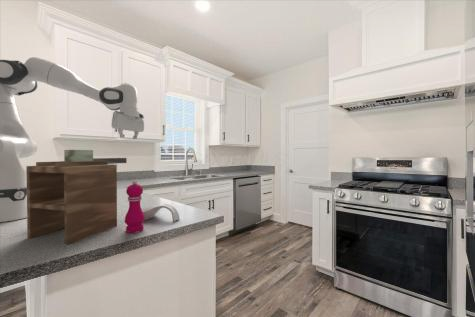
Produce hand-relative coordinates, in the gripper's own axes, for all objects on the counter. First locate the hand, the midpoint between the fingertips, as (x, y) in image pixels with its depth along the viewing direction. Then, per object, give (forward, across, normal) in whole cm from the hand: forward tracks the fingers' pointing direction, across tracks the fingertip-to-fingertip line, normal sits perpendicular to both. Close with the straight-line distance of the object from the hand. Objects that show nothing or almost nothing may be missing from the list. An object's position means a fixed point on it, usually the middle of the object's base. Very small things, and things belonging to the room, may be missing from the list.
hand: (128, 138), depth 121 cm
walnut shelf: (+39, -36, -8) cm, 54 cm away
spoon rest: (+40, -12, -26) cm, 49 cm away
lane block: (+13, -25, -8) cm, 29 cm away
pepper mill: (+39, -28, -29) cm, 56 cm away
